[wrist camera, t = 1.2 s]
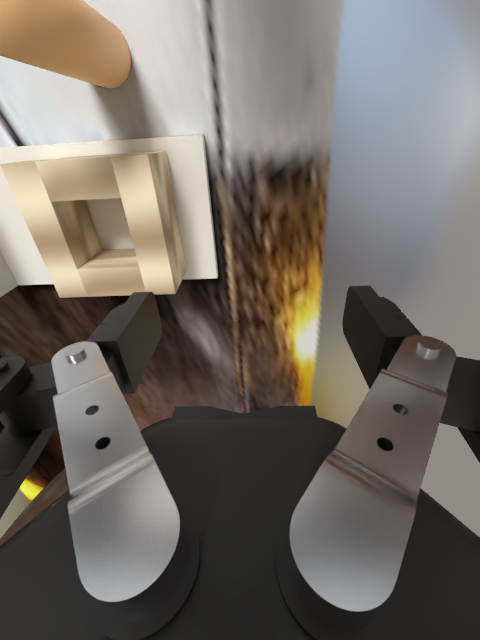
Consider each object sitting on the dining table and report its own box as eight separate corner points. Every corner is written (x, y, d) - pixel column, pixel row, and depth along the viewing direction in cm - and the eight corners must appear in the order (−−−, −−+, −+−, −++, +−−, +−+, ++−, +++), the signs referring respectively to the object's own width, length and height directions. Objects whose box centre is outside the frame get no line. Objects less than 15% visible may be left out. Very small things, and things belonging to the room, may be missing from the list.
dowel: (69, 20, 21) (-98, -81, 11) (122, 15, 21) (1, -93, 11) (88, 90, 23) (-37, 58, 13) (136, 86, 23) (46, 50, 13)
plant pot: (35, 444, 51) (-43, 555, 38) (115, 442, 50) (64, 556, 36) (70, 488, 59) (17, 592, 46) (140, 487, 58) (106, 594, 44)
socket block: (41, 158, 25) (-1, 164, 21) (165, 150, 24) (147, 154, 20) (85, 275, 31) (59, 297, 27) (186, 271, 30) (175, 293, 26)
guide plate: (-58, 151, 26) (-165, 158, 19) (203, 134, 25) (185, 135, 18) (12, 281, 33) (-49, 319, 26) (218, 274, 32) (209, 312, 25)
